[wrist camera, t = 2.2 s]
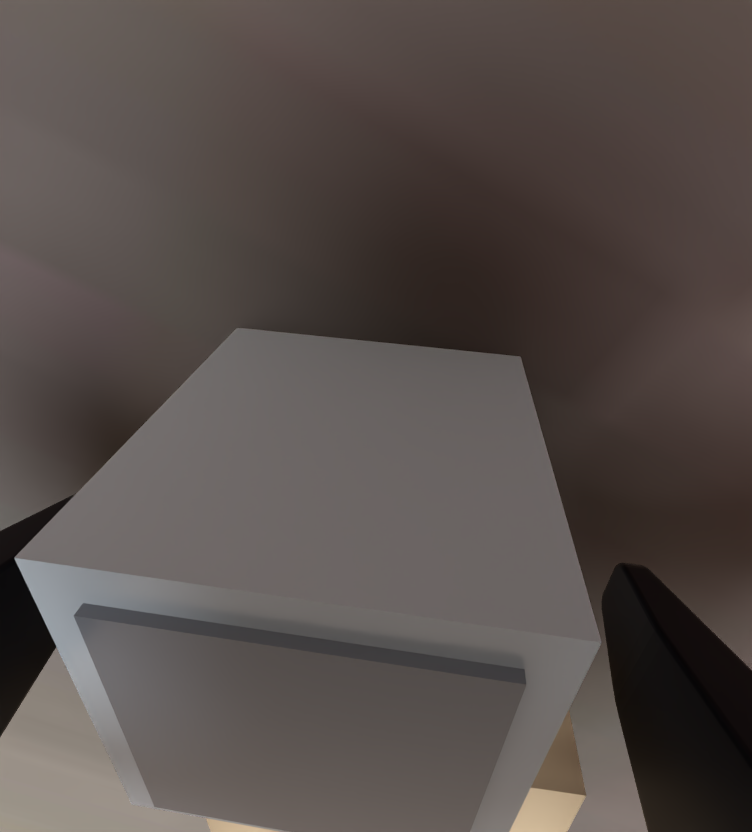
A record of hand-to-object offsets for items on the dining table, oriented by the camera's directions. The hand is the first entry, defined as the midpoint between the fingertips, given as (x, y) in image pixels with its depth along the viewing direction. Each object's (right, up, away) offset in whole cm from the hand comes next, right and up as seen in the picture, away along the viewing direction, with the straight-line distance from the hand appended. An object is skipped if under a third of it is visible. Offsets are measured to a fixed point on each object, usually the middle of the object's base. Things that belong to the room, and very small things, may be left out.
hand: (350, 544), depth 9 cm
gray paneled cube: (0, +1, +2) cm, 3 cm away
